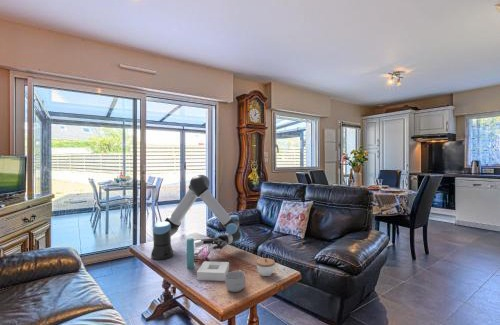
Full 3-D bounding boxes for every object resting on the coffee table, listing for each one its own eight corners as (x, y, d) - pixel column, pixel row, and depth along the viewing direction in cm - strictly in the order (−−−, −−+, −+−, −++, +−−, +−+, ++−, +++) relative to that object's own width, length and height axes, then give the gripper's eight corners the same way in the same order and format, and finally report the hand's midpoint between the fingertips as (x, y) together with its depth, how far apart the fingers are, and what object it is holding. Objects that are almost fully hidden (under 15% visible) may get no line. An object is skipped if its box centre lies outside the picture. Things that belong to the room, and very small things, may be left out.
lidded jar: (276, 277, 157) (276, 261, 157) (258, 279, 155) (258, 262, 155) (272, 270, 168) (272, 254, 167) (255, 271, 166) (255, 256, 166)
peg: (188, 266, 175) (187, 238, 175) (195, 266, 175) (194, 238, 174) (185, 268, 171) (185, 240, 170) (192, 269, 170) (192, 240, 170)
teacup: (237, 296, 136) (237, 280, 136) (220, 291, 142) (220, 275, 142) (252, 285, 148) (252, 270, 148) (235, 280, 154) (235, 266, 154)
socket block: (204, 268, 171) (203, 261, 171) (229, 269, 169) (229, 262, 169) (196, 279, 155) (196, 272, 155) (224, 280, 154) (224, 272, 153)
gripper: (237, 248, 188) (215, 257, 172) (213, 241, 204) (190, 248, 188) (237, 237, 188) (215, 245, 172) (213, 231, 204) (190, 238, 188)
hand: (202, 247), depth 180 cm, fingers open, 13 cm apart
